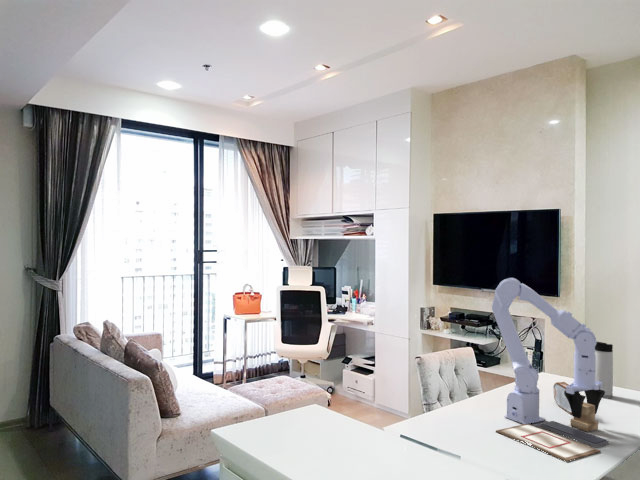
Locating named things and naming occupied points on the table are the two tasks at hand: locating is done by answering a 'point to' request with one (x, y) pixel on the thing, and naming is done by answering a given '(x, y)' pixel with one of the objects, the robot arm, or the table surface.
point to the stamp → (586, 419)
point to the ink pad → (575, 434)
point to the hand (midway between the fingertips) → (584, 415)
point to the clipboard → (549, 442)
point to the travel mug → (604, 367)
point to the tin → (561, 396)
